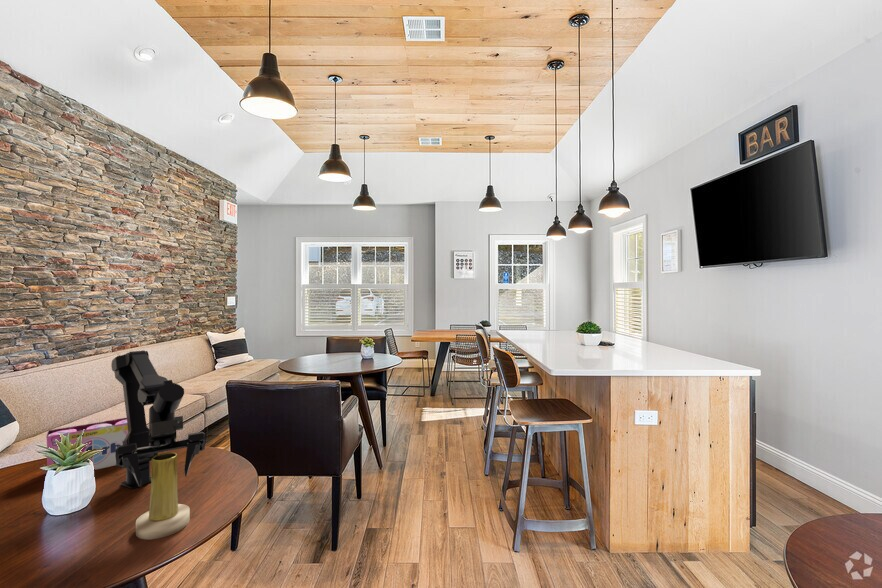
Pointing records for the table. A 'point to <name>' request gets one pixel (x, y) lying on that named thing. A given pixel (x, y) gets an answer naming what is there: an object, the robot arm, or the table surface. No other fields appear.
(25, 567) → the table surface
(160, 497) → the vase
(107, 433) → the gum box
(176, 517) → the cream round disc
